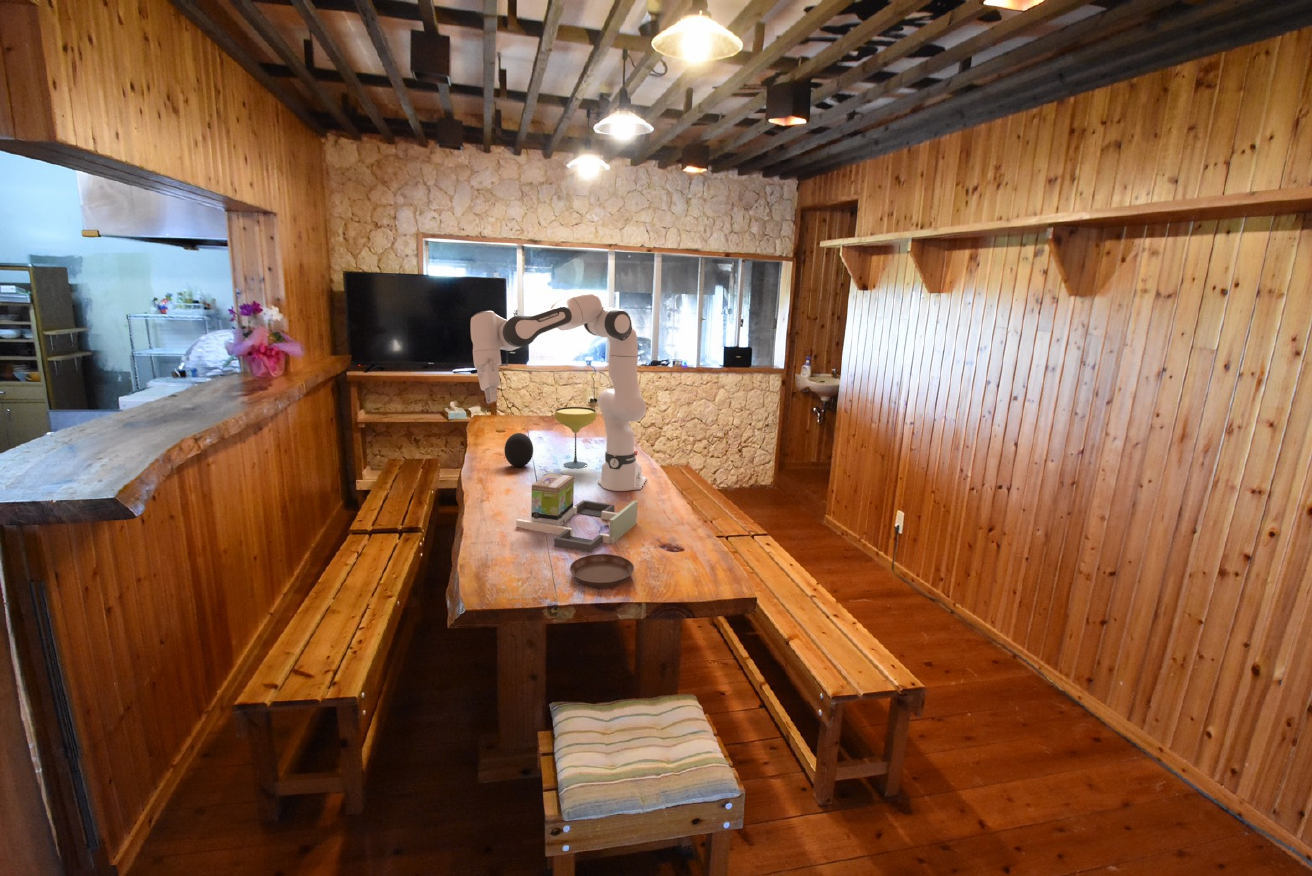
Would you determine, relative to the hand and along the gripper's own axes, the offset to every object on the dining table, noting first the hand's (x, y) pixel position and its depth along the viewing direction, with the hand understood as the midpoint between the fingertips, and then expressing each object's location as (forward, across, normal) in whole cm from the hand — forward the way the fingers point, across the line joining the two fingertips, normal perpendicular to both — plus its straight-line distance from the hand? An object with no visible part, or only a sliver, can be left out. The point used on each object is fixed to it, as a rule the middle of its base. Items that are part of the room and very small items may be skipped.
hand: (491, 402), depth 211 cm
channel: (+44, -9, -23) cm, 50 cm away
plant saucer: (+53, -47, -18) cm, 73 cm away
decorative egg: (+26, +66, -19) cm, 73 cm away
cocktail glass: (+28, +61, -43) cm, 80 cm away
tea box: (+42, -2, -16) cm, 45 cm away
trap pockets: (+45, -11, -25) cm, 52 cm away
